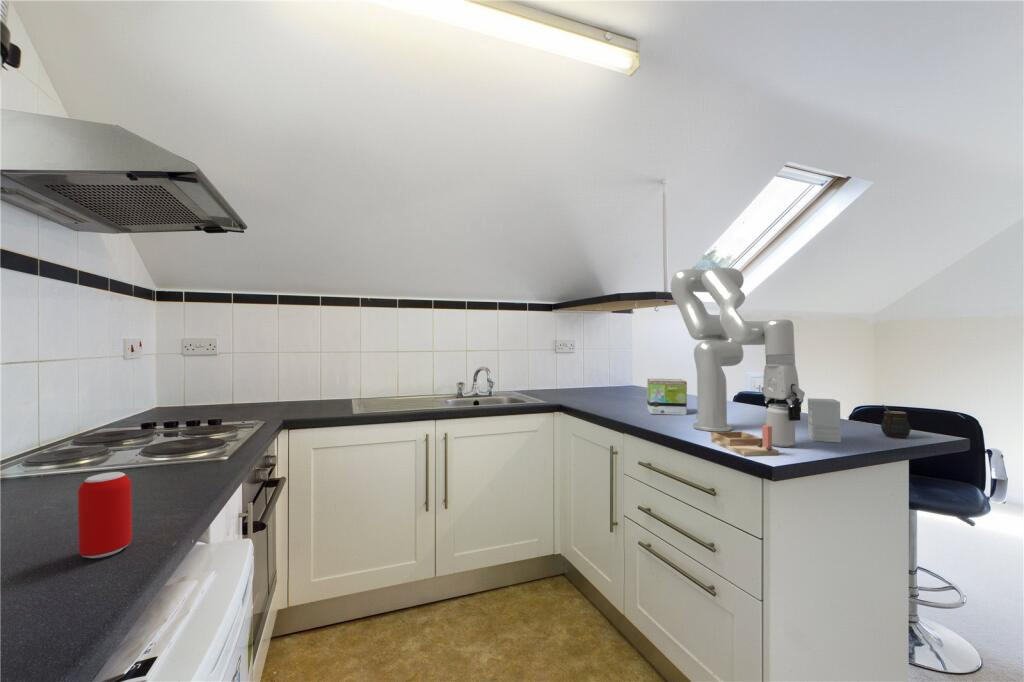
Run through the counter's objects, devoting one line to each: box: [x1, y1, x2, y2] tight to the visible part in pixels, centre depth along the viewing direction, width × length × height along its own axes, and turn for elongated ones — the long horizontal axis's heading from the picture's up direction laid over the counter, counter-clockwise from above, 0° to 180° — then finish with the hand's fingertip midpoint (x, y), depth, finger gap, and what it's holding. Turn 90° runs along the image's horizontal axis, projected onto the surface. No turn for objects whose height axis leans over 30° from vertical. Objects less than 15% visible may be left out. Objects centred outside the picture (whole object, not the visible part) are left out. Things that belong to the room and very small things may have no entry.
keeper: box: [761, 424, 773, 448], centre depth 123 cm, size 2×6×1 cm
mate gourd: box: [880, 404, 912, 439], centre depth 141 cm, size 7×8×10 cm
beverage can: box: [77, 471, 133, 559], centre depth 69 cm, size 6×6×12 cm
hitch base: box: [710, 430, 780, 457], centre depth 129 cm, size 17×10×3 cm, turn 4°
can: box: [765, 403, 796, 448], centre depth 131 cm, size 8×8×12 cm
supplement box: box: [807, 397, 842, 444], centre depth 138 cm, size 7×7×13 cm
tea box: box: [646, 378, 688, 416], centre depth 191 cm, size 15×10×15 cm, turn 81°
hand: (782, 418), depth 131 cm, fingers open, 9 cm apart
